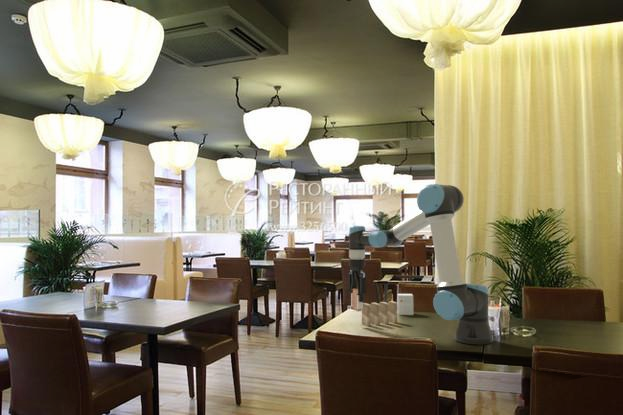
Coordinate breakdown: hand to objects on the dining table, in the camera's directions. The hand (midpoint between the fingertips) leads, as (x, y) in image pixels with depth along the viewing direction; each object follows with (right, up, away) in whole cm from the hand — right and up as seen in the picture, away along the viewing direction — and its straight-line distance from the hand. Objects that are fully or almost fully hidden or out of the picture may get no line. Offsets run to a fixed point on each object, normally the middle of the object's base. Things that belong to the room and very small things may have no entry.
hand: (356, 307), depth 239 cm
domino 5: (+18, -9, +8) cm, 22 cm away
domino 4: (+14, -9, +6) cm, 17 cm away
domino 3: (+9, -9, +4) cm, 13 cm away
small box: (+28, -10, +29) cm, 42 cm away
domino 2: (+5, -9, +2) cm, 10 cm away
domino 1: (0, -1, 0) cm, 1 cm away
